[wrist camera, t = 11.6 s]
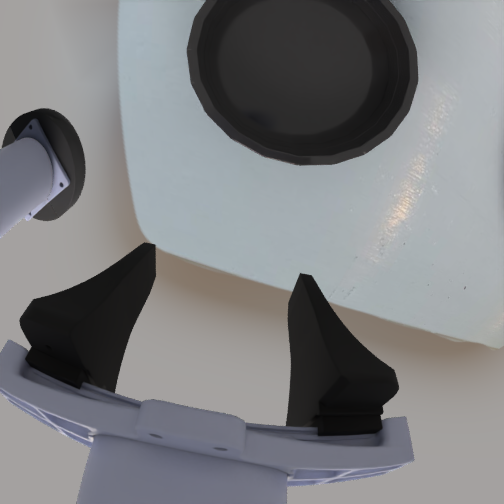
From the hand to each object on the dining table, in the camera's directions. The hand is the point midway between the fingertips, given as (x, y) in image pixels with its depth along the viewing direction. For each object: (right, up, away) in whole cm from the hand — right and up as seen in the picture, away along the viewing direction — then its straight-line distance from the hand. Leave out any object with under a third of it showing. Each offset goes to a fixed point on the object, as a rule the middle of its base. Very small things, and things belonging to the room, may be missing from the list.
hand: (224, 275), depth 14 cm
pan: (+5, +14, +2) cm, 15 cm away
